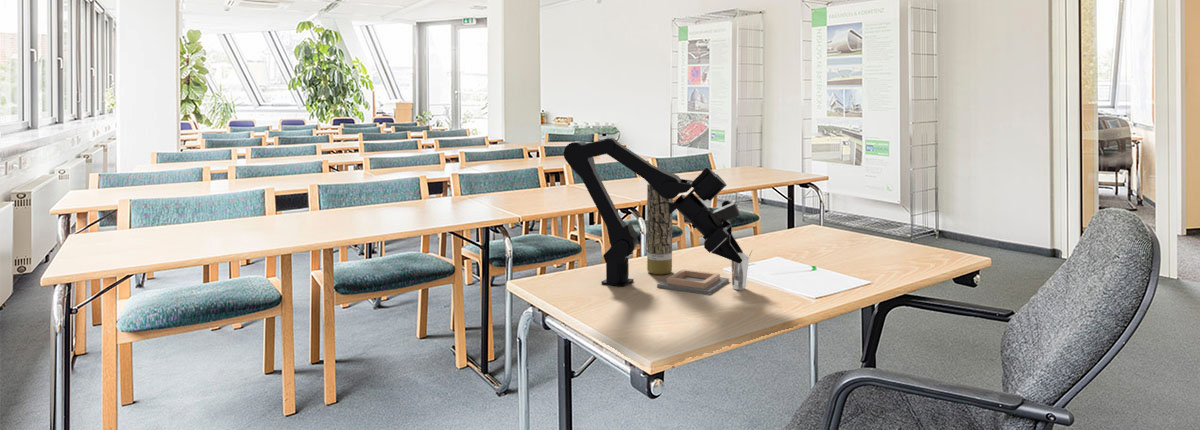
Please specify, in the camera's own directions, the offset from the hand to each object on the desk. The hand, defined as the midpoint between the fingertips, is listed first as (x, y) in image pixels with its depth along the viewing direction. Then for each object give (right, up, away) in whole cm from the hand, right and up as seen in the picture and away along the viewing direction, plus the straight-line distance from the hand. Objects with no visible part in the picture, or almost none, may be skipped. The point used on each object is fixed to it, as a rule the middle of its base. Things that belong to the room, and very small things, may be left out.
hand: (741, 257), depth 177 cm
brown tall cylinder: (-19, -5, +18) cm, 27 cm away
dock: (-11, -7, +6) cm, 15 cm away
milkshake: (0, -8, +1) cm, 8 cm away
